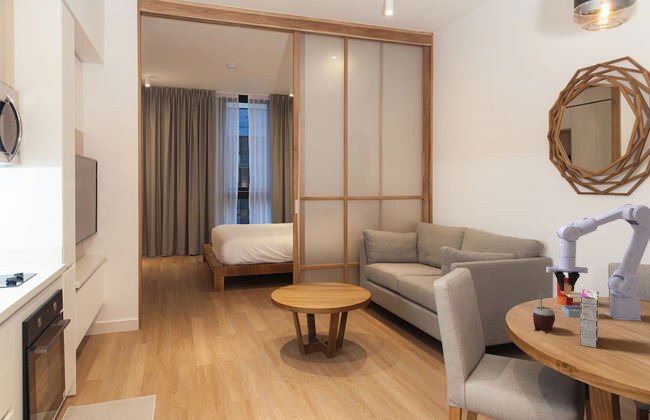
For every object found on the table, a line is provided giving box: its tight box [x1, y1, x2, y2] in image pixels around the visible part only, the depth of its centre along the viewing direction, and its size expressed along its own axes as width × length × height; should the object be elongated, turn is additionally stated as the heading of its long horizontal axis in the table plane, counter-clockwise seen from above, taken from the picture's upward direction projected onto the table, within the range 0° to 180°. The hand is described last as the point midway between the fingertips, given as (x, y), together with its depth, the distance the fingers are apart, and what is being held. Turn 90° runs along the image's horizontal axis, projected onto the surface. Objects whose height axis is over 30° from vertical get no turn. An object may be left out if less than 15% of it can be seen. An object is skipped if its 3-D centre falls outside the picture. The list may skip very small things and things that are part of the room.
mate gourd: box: [532, 292, 556, 335], centre depth 156 cm, size 8×8×15 cm
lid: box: [561, 283, 582, 299], centre depth 171 cm, size 10×7×5 cm
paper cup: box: [556, 272, 576, 306], centre depth 187 cm, size 8×8×14 cm
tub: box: [561, 305, 581, 318], centre depth 173 cm, size 8×6×3 cm
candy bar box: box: [579, 288, 600, 349], centre depth 145 cm, size 11×5×16 cm, turn 148°
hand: (566, 290), depth 171 cm, fingers closed on lid, 3 cm apart
